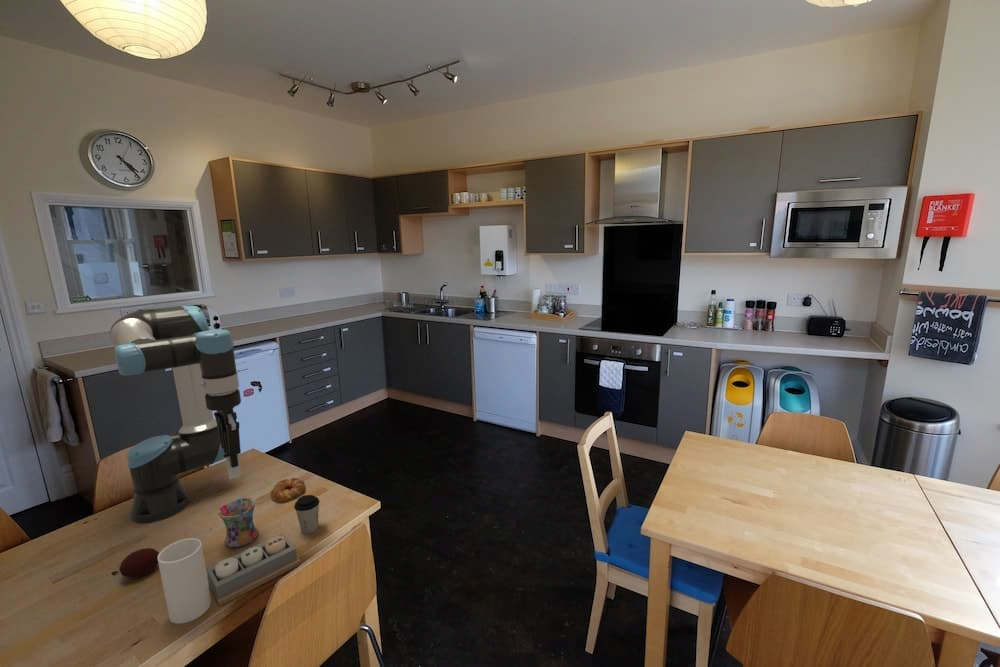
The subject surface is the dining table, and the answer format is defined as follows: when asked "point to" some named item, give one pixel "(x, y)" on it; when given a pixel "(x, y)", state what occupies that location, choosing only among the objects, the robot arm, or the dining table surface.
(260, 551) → the button
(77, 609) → the dining table surface
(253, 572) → the console
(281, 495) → the bagel
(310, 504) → the coffee cup
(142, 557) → the potato
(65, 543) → the dining table surface
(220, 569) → the button
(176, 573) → the cup
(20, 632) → the dining table surface
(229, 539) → the mug
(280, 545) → the button
